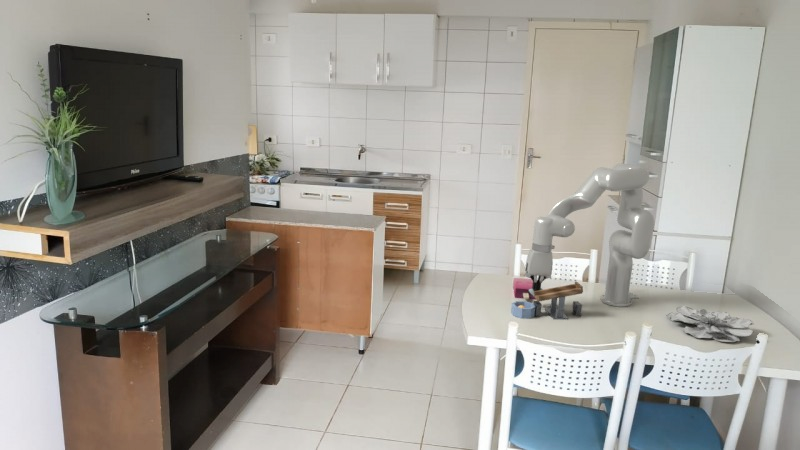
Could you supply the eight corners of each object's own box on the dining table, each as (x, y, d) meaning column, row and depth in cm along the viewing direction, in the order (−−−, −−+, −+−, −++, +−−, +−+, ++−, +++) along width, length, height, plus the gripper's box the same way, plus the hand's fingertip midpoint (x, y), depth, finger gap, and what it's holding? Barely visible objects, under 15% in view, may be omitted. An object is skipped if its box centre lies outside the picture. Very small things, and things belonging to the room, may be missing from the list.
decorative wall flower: (705, 296, 244) (775, 322, 217) (703, 311, 245) (772, 339, 218) (652, 303, 232) (719, 332, 205) (650, 320, 233) (715, 350, 206)
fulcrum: (573, 310, 238) (576, 289, 236) (583, 319, 229) (586, 297, 227) (530, 309, 236) (532, 288, 234) (538, 319, 227) (540, 297, 225)
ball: (519, 302, 231) (514, 309, 232) (521, 305, 228) (517, 312, 229) (525, 306, 232) (521, 312, 233) (528, 309, 229) (523, 315, 229)
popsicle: (516, 292, 244) (513, 277, 263) (515, 302, 245) (512, 287, 264) (538, 293, 243) (534, 279, 262) (537, 304, 244) (533, 289, 263)
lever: (570, 283, 241) (570, 276, 240) (583, 294, 228) (582, 286, 227) (528, 291, 240) (528, 283, 239) (539, 302, 227) (538, 294, 226)
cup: (529, 310, 236) (530, 301, 235) (536, 318, 227) (537, 308, 226) (509, 310, 235) (509, 300, 234) (515, 318, 226) (516, 308, 225)
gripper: (556, 246, 237) (550, 288, 241) (520, 244, 235) (515, 287, 239) (562, 251, 229) (556, 294, 233) (526, 249, 228) (520, 293, 232)
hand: (535, 291), depth 236 cm, fingers closed
